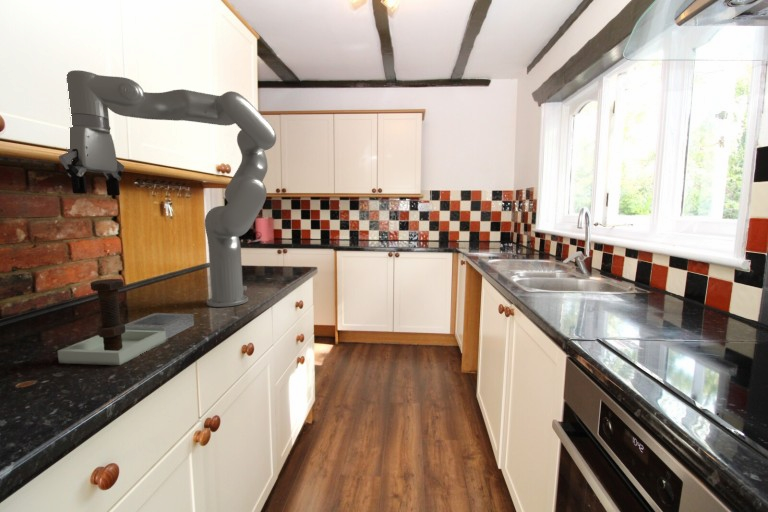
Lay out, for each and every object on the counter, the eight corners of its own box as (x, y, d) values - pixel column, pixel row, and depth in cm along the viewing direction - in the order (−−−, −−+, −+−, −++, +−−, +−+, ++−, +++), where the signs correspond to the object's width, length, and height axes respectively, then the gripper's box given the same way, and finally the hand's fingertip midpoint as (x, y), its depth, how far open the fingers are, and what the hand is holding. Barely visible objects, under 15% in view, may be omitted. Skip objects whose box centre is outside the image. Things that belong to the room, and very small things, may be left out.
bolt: (109, 356, 72) (102, 284, 70) (90, 354, 73) (82, 282, 72) (135, 346, 78) (129, 278, 76) (117, 344, 79) (110, 277, 77)
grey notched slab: (155, 323, 95) (154, 313, 95) (194, 325, 94) (193, 314, 94) (121, 338, 84) (120, 326, 84) (165, 339, 83) (164, 327, 83)
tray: (114, 339, 83) (113, 329, 83) (166, 341, 82) (165, 330, 82) (58, 362, 70) (57, 350, 70) (119, 365, 69) (118, 352, 69)
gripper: (106, 133, 98) (112, 196, 100) (41, 116, 81) (50, 192, 83) (131, 132, 98) (137, 195, 100) (71, 116, 81) (79, 192, 83)
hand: (97, 194), depth 92 cm, fingers open, 9 cm apart
